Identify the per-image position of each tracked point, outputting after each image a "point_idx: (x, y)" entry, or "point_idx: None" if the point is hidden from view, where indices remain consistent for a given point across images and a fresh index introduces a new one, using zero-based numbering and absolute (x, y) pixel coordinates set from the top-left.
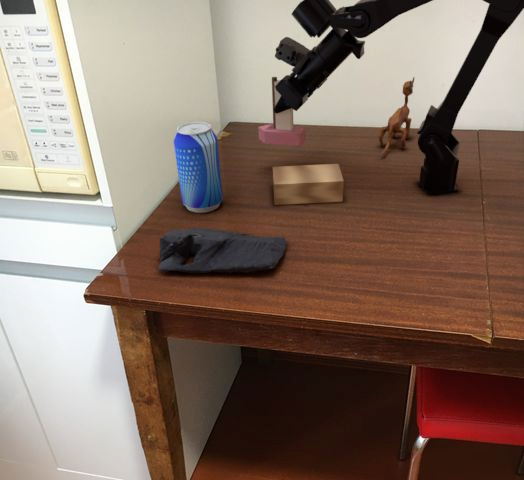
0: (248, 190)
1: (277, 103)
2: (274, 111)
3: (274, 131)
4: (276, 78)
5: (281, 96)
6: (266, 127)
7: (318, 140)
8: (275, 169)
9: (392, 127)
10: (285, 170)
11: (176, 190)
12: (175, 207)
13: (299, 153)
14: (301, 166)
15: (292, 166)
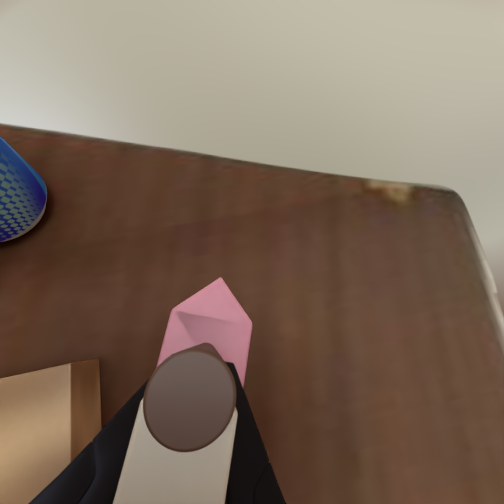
0: (82, 295)
1: (132, 399)
2: None
3: (163, 355)
4: (167, 444)
5: (56, 481)
6: (212, 310)
7: (428, 428)
8: (42, 379)
9: None
10: (26, 420)
11: (99, 147)
12: None
13: (331, 388)
14: None
15: (63, 440)
